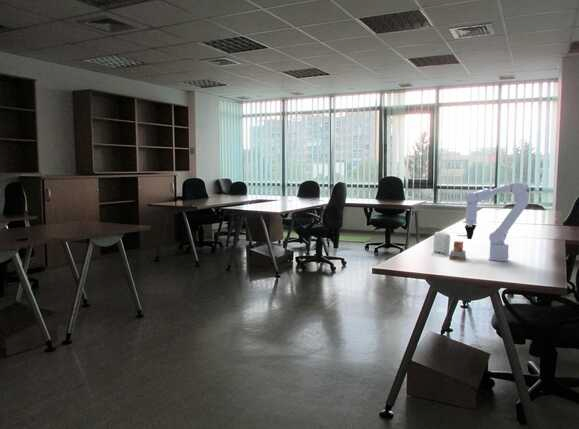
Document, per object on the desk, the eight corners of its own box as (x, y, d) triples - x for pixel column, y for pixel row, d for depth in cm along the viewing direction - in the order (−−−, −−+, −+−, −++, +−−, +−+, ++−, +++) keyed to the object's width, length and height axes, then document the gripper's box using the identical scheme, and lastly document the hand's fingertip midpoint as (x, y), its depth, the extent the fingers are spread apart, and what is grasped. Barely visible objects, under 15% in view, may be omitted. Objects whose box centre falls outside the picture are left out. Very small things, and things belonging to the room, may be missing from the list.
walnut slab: (465, 259, 267) (465, 254, 267) (464, 261, 259) (465, 257, 259) (450, 257, 270) (450, 253, 270) (449, 260, 263) (449, 255, 262)
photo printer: (450, 253, 280) (451, 232, 278) (445, 254, 278) (445, 233, 276) (437, 250, 289) (438, 230, 287) (432, 251, 287) (432, 230, 285)
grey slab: (465, 254, 266) (465, 250, 266) (464, 256, 259) (464, 252, 259) (452, 253, 269) (452, 249, 269) (450, 255, 262) (450, 251, 262)
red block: (462, 250, 265) (463, 241, 264) (461, 251, 261) (461, 242, 261) (455, 249, 267) (455, 241, 266) (453, 251, 263) (454, 242, 263)
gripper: (464, 212, 277) (463, 235, 279) (462, 214, 264) (461, 239, 265) (477, 213, 275) (476, 236, 276) (476, 215, 261) (475, 240, 263)
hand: (469, 238), depth 271 cm, fingers open, 7 cm apart
